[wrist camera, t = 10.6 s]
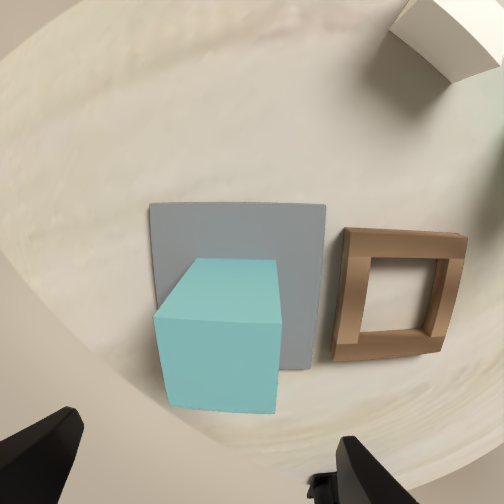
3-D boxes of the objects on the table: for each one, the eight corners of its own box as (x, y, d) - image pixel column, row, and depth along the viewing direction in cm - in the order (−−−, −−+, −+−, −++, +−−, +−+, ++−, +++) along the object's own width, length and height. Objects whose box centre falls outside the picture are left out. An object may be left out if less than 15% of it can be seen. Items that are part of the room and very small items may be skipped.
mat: (309, 365, 21) (310, 368, 21) (167, 358, 22) (166, 362, 21) (324, 204, 18) (325, 205, 17) (152, 203, 18) (149, 203, 18)
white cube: (471, 40, 13) (513, 20, 8) (451, 83, 15) (500, 66, 9) (414, -8, 13) (447, -42, 7) (387, 30, 14) (424, -7, 9)
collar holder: (432, 342, 20) (440, 351, 19) (329, 349, 21) (333, 361, 19) (456, 233, 18) (467, 238, 16) (344, 227, 18) (350, 232, 17)
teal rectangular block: (272, 329, 20) (274, 414, 12) (200, 326, 20) (169, 405, 12) (275, 260, 18) (281, 323, 11) (196, 257, 19) (153, 316, 11)
